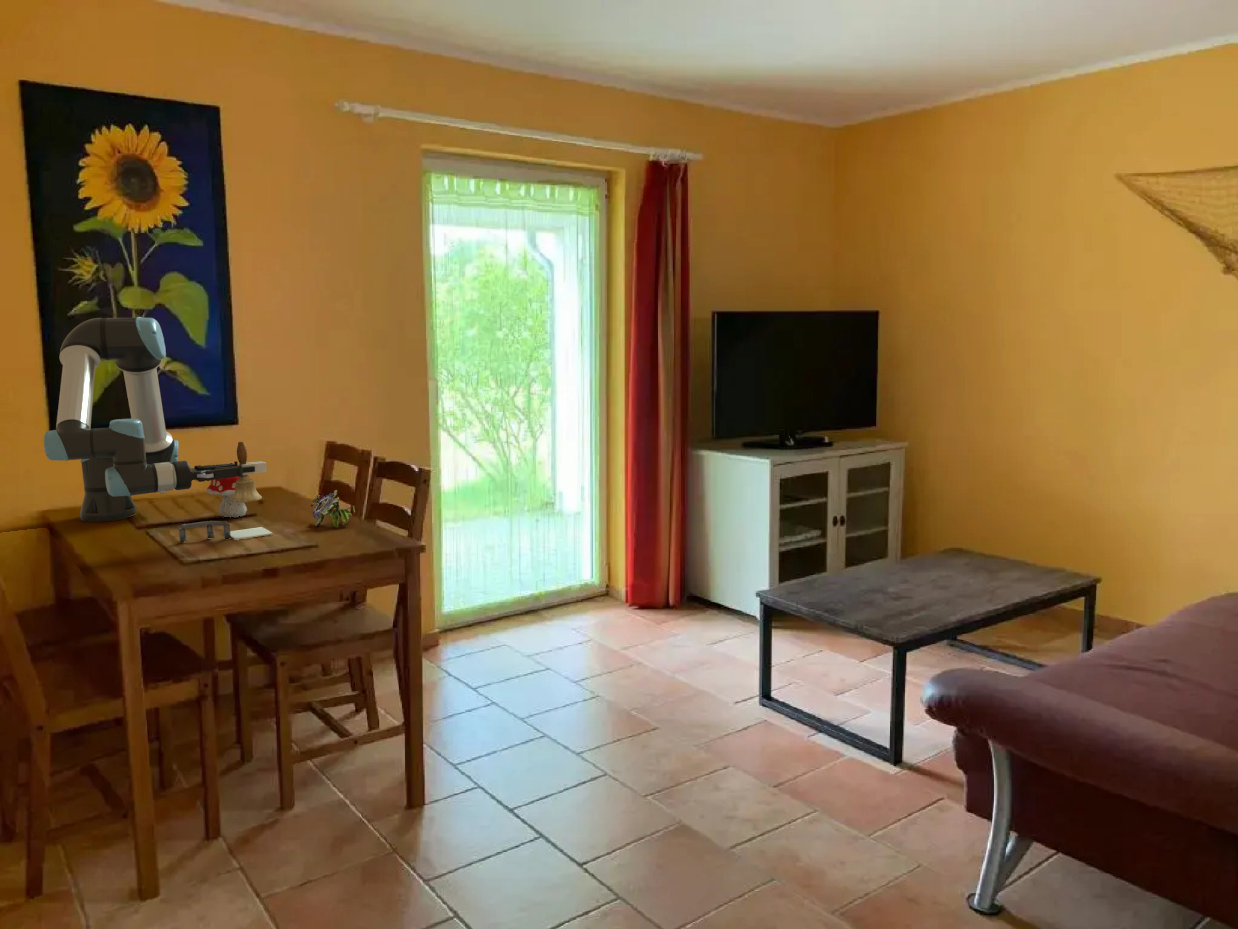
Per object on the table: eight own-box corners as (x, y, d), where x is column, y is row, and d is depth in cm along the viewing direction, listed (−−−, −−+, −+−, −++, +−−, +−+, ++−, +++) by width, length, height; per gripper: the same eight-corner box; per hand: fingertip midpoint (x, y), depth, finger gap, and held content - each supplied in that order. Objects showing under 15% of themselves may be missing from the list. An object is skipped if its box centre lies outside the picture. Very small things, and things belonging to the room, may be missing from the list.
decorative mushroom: (197, 519, 285) (193, 469, 283) (230, 510, 298) (226, 462, 296) (236, 522, 281) (232, 471, 279) (267, 512, 294) (264, 464, 292)
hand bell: (251, 502, 258) (246, 443, 255) (223, 502, 260) (218, 443, 257) (268, 497, 266) (264, 439, 264) (241, 496, 268) (236, 439, 265)
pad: (225, 534, 266) (224, 532, 265) (262, 528, 271) (261, 526, 271) (235, 540, 258) (234, 538, 257) (272, 535, 263) (272, 533, 263)
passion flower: (319, 544, 275) (302, 508, 278) (355, 531, 281) (338, 496, 284) (326, 528, 266) (308, 492, 269) (362, 516, 272) (345, 480, 275)
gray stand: (179, 542, 257) (177, 524, 256) (226, 535, 264) (225, 518, 263) (183, 546, 253) (182, 528, 252) (231, 539, 260) (230, 521, 259)
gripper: (167, 486, 257) (257, 476, 271) (180, 494, 246) (273, 483, 259) (165, 458, 256) (255, 450, 270) (178, 465, 244) (271, 456, 258)
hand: (264, 466), depth 265 cm, fingers closed on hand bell, 2 cm apart
